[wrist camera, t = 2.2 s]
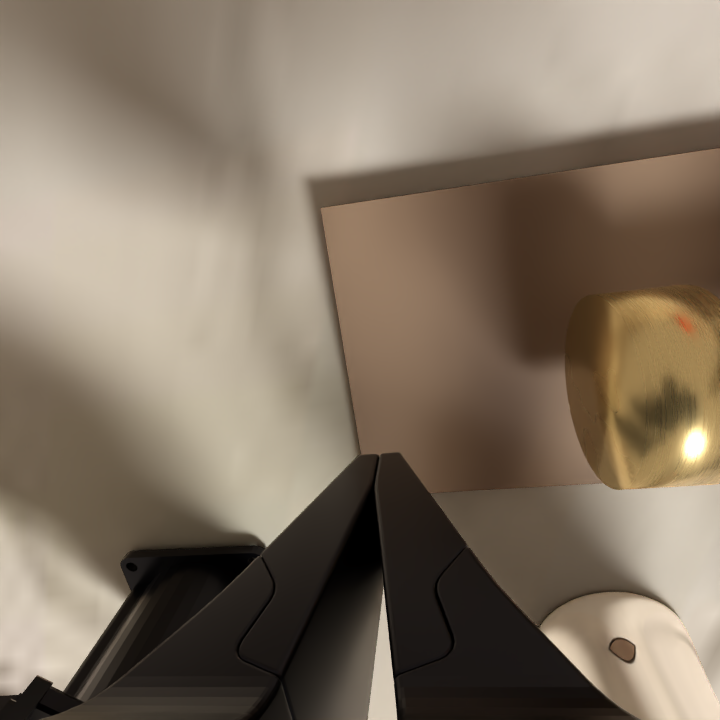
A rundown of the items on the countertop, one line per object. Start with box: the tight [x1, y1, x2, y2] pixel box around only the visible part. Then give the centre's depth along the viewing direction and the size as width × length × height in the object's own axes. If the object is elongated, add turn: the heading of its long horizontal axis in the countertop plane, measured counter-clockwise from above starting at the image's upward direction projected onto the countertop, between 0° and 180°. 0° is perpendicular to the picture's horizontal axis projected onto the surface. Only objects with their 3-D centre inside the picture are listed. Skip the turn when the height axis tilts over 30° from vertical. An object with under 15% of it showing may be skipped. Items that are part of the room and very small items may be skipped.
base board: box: [321, 148, 720, 493], centre depth 13 cm, size 22×10×1 cm, turn 98°
